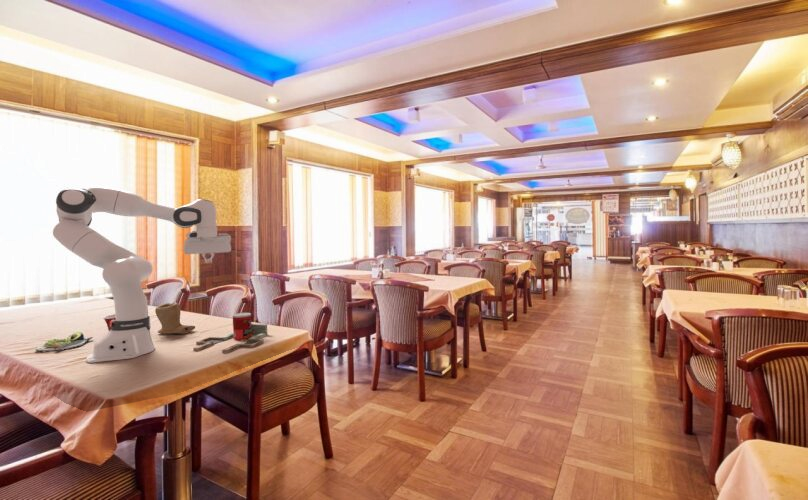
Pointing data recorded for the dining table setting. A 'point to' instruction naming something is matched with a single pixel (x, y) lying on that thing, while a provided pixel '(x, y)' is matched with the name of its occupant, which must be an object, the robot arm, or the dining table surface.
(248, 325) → the canned food
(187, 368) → the dining table surface
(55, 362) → the dining table surface
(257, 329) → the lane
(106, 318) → the plastic cup
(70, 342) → the salad plate
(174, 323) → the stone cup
